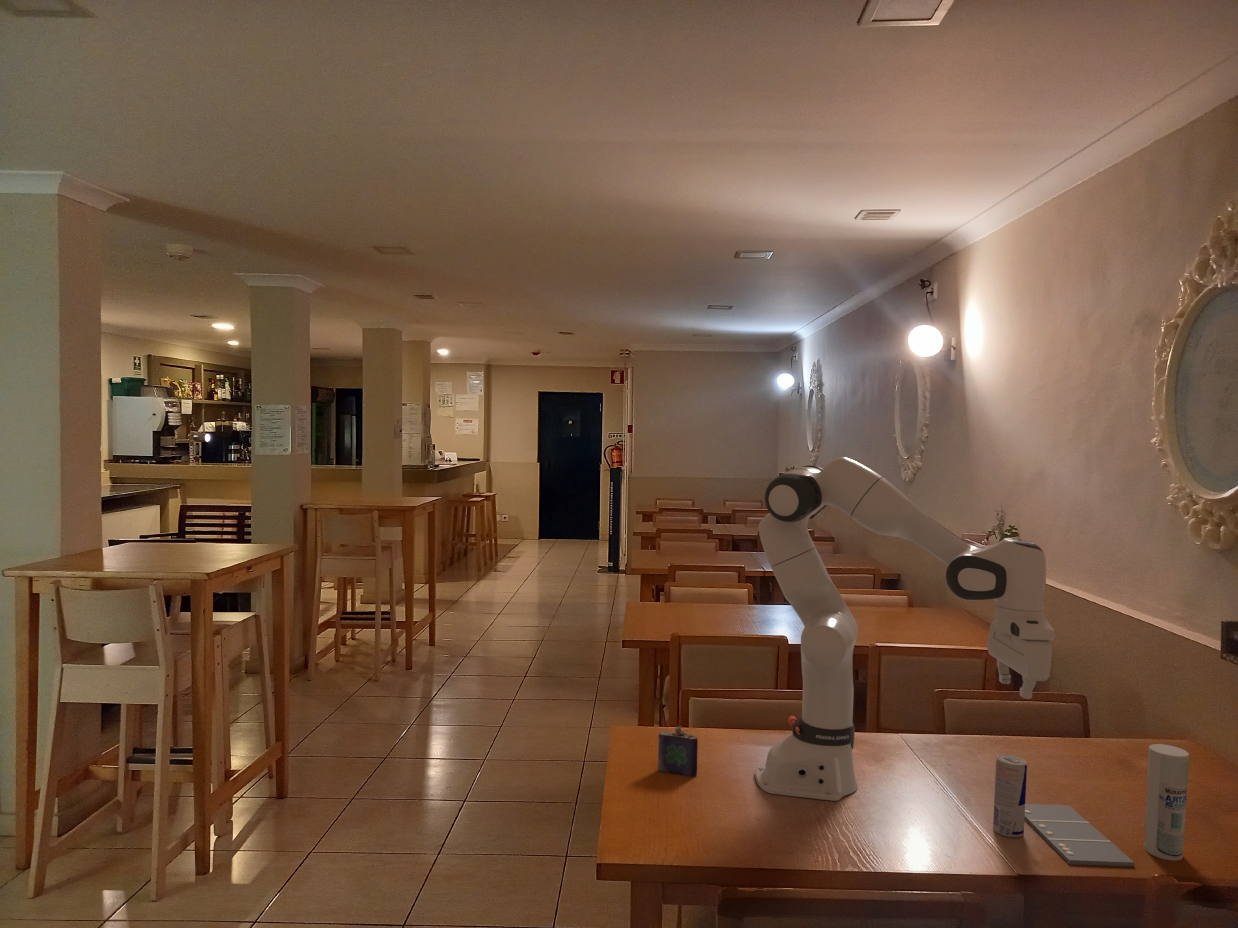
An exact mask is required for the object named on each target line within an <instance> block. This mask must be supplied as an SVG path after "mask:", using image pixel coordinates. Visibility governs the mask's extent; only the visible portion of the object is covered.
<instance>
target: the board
mask: <svg viewBox="0 0 1238 928" xmlns="http://www.w3.org/2000/svg"><path fill="white" fill-rule="evenodd" d="M1024 822H1026V823H1028V824H1029V826H1030V827H1031V828H1032V829H1033V830H1034V831H1036V833H1037V834H1038V835H1039V836H1040V837H1041V838H1042V839H1043V840H1044V841H1045V842H1046V843H1047V844H1048V846H1050V847H1051V848H1052V849H1053V850H1054V851H1055V852H1056V853H1057V854H1058V855H1059V856H1060V857H1061V858H1062V859H1063V860H1064V861H1065V862H1066V863H1067V864H1068V865H1080V866H1081V865H1082V866H1110V867H1131V868H1132V867H1133V868H1134V867H1135V861H1134V860H1132V859H1131V858H1130V857H1129V856H1128V855H1126V854H1125V853H1124V852H1123V851H1122V850H1121V849H1120V848H1119V847H1117V845H1116V844H1114V843H1113V842H1112V841H1111V840H1110V839H1108V838H1107V837H1106V836H1105V835H1104V834H1102V833H1101V831H1099V830H1098V829H1097V828H1095V827H1094V826H1093V825H1092V824H1091V823H1090V821H1088V820H1086V819H1085V818H1084V816H1082V815H1081V814H1079V813H1078V812H1077V810H1076V809H1074V808H1073V807H1071V806H1070V805H1064V804H1063V805H1062V804H1035V803H1033V804H1032V803H1025V819H1024Z"/></svg>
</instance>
